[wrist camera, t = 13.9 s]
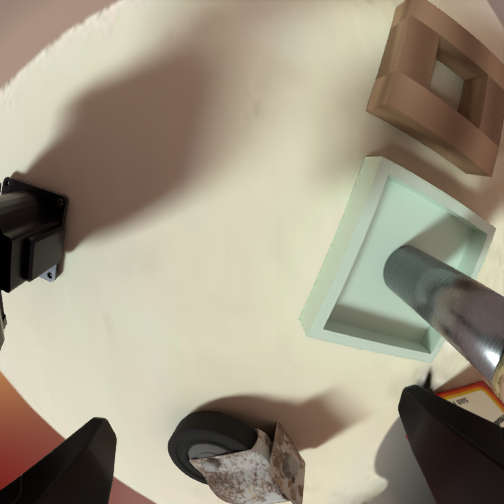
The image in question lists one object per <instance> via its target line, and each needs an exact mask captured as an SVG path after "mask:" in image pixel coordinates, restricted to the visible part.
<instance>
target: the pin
mask: <svg viewBox="0 0 504 504" xmlns="http://www.w3.org/2000/svg"><path fill="white" fill-rule="evenodd" d="M383 278H384V282H385V284H386V286H387V287H388V288H389V289H390V290H391V291H392V292H393V293H395V294H396V295H397V296H398V297H399V298H400V299H401V300H403V301H404V302H405V303H406V304H407V305H408V306H409V307H411V308H412V309H413V310H414V311H415V312H416V313H417V314H418V315H420V316H421V317H422V318H423V319H424V320H425V321H426V322H427V323H428V324H429V325H431V326H432V327H433V328H434V329H435V330H436V331H437V332H438V333H439V334H440V335H441V336H443V337H444V338H445V339H446V340H447V341H448V342H449V343H450V344H451V345H452V346H453V347H454V348H455V349H456V350H457V351H458V352H459V353H461V354H462V355H463V356H464V357H465V358H466V359H467V360H468V361H469V362H470V363H471V364H472V365H473V366H474V367H475V368H476V369H477V370H478V371H479V372H480V373H481V374H482V375H483V376H484V377H485V378H486V379H487V380H488V381H489V382H490V383H491V384H492V391H493V392H494V394H495V395H496V396H497V397H498V398H499V399H500V400H501V401H502V402H503V403H504V297H503V296H501V295H500V294H498V293H496V292H495V291H493V290H492V289H490V288H488V287H486V286H485V285H483V284H481V283H480V282H478V281H476V280H475V279H473V278H471V277H469V276H468V275H466V274H464V273H462V272H460V271H459V270H457V269H455V268H453V267H451V266H450V265H448V264H446V263H444V262H442V261H441V260H439V259H437V258H435V257H433V256H431V255H429V254H427V253H426V252H424V251H422V250H420V249H418V248H416V247H414V246H411V245H405V246H401V247H399V248H397V249H396V250H394V251H393V252H392V253H391V255H390V256H389V257H388V259H387V261H386V263H385V266H384V270H383Z"/></svg>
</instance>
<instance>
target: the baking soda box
mask: <svg viewBox="0 0 504 504" xmlns="http://www.w3.org/2000/svg"><path fill="white" fill-rule="evenodd" d="M436 395H438V396H440V397H442V398H444V399H446V400H448V401H450V402H452V403H454V404H456V405H458V406H460V407H462V408H464V409H466V410H468V411H470V412H472V413H474V414H476V415H479V416H481V417H483V418H485V419H487V420H489V421H491V422H493V423H495V424H498V425H500V426H501V427H504V403H503V402H502V401H501V400H500V399H499V398H498V397H497V396H496V395H495V394H494V392H493V391H492V389H491V388H490V387H489V386H488V385H487V384H486V383H485V382H484V381H479V382H476V383H473V384H470V385H466V386H463V387H459V388H455V389H452V390H448V391H444V392H440V393H436ZM406 437H407V435H406ZM407 439H408V438H407Z"/></svg>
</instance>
